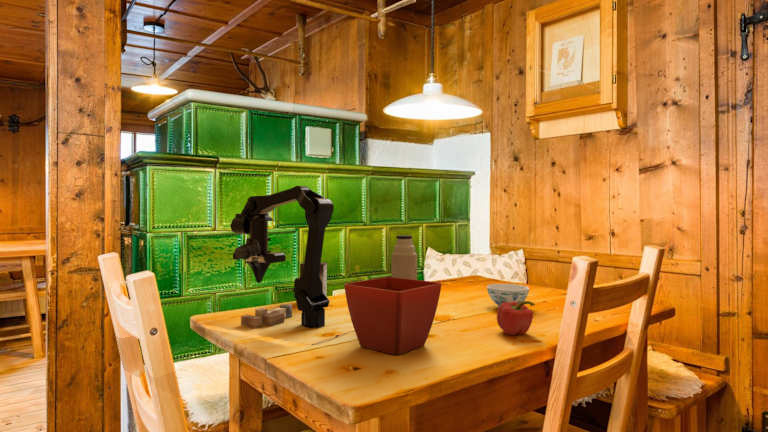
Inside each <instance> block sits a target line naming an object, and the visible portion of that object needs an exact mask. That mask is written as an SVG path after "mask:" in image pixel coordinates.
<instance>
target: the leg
mask: <svg viewBox="0 0 768 432" xmlns="http://www.w3.org/2000/svg"><path fill="white" fill-rule="evenodd" d="M275 312H280V313H284V320H285V319H289V318H292V317H293V305H292V304H290V303H289V304H280V305H279V307H275V308H271V309H268V308H263V307H260V308H256V309H254V314H255V315H254V316H258V317H261V326H264V325H263V315H267V314H271V313H275Z"/></svg>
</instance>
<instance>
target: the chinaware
mask: <svg viewBox="0 0 768 432" xmlns="http://www.w3.org/2000/svg"><path fill="white" fill-rule="evenodd" d="M486 289H487V290H486V291H487V293H488V296H489V297H490V300H491V301H493V303H494V304H496V305H497V306H498V307H497V308H499V306H500V305H501V304H502V303H506V302H509V303H512V302H517V303H518V304H519V303H521V302H524V301H526V299H527V297H528V295H529V292H530V287H528V286H526V285H521V284H516V283H514V284H513V283H494V284H493V283H492V284H488V285H487V286H486Z"/></svg>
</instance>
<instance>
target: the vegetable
mask: <svg viewBox="0 0 768 432" xmlns="http://www.w3.org/2000/svg"><path fill="white" fill-rule="evenodd" d="M527 305H530V306H531V307H532V306H535V305H536V303H534V302H532V301H530V300H525V301H524V302H521V303H519V304H518V303H517V302H512V303H509V302H506V303H502V304H501V305H500V306H499V308H498V307H497V308H498V309H497V313H496V322H497V325H498V326H499V328H500V329H501V330H502V332H503V333H504V334H506V335H509V336H516V335H524V334H526V333H527V332H528V331H529V330H530V328H531V325H532V322H533V318H534V313H533V311H532V309H529V307H528V306H527Z"/></svg>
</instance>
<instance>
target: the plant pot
mask: <svg viewBox="0 0 768 432" xmlns="http://www.w3.org/2000/svg"><path fill="white" fill-rule="evenodd" d="M441 289H442V283H441V282H437V281H436V282H435V281H430V280H421V279H417V280H414V279H405V278H395V277H392V276H384V277H377V278H372V279H366V280H358V281H352V282H346V283H344V292H345V297H346V304H347V308H348V313H349V315H350V320H351V323H352V327H353V329H354V333H355V335H356V338H357V340H358V342H359V343H358V344H359V345H360V347H362V348H366V349H370V350H375V351H378V352H382V353H385V354H391V355H395V356H397V355H402V354H403V353H406V352H410V351H412V350H415V349H419V348H420V347H424V346H425V344H426V342H427V340H428V337H429V335H430V332H431V329H432V326H433V323H434V320H435V316H436V313H437V309H438V306H439V305H438V304H439V301H440V295H441Z"/></svg>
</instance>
